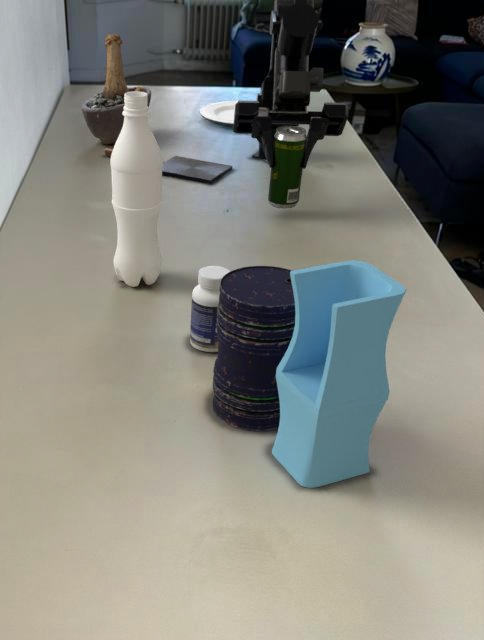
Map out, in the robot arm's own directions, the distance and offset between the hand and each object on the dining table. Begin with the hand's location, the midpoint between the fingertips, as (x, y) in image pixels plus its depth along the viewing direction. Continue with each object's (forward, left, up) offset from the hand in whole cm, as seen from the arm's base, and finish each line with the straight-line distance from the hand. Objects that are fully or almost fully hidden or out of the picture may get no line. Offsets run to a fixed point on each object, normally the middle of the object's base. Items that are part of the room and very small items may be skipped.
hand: (287, 167), depth 128 cm
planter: (-25, -49, -9) cm, 56 cm away
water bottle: (+35, -9, -9) cm, 37 cm away
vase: (+64, +30, -9) cm, 71 cm away
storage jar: (+58, +20, -9) cm, 62 cm away
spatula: (-14, -32, -8) cm, 36 cm away
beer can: (-1, -1, -7) cm, 7 cm away
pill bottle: (+47, +9, -9) cm, 48 cm away
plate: (-54, -32, -9) cm, 63 cm away
